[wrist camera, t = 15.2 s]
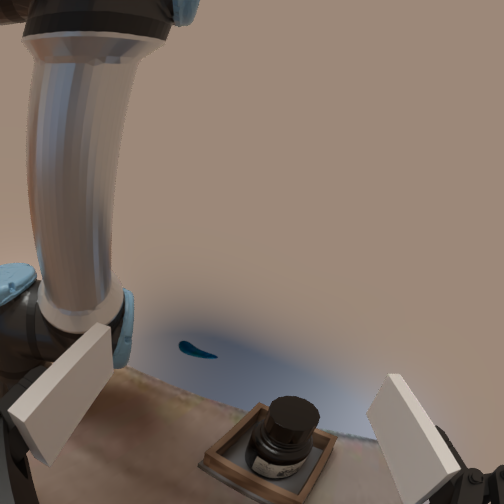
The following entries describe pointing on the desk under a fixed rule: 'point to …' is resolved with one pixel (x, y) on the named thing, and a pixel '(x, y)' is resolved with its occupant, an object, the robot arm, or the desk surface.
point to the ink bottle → (282, 438)
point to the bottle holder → (259, 489)
